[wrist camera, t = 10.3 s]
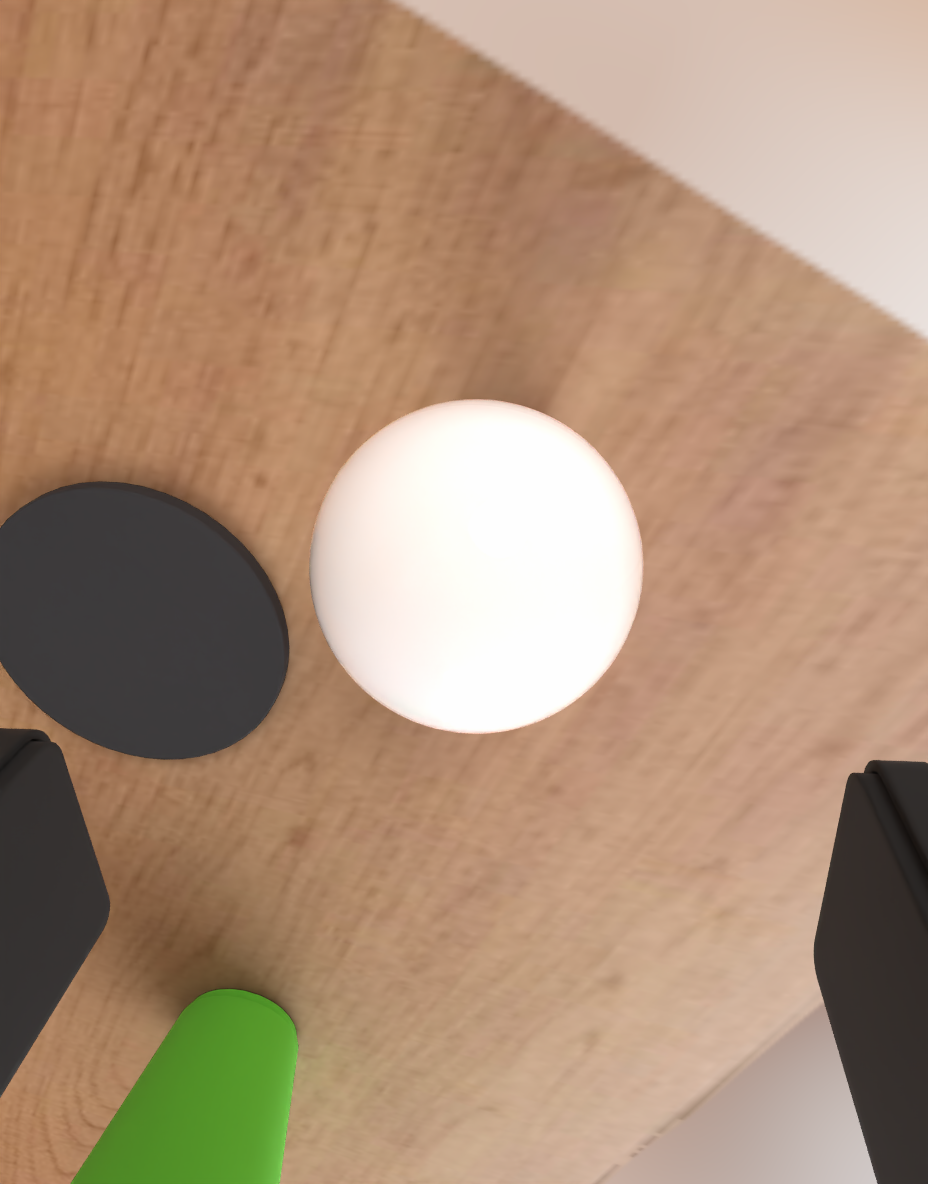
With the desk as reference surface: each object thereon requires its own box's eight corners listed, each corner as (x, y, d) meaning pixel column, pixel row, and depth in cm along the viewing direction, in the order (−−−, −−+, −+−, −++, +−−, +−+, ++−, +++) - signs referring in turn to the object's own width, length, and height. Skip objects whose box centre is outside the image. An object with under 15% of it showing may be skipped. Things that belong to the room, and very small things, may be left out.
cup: (290, 1115, 39) (199, 1432, 30) (112, 1034, 38) (-45, 1338, 28) (381, 1017, 35) (310, 1346, 26) (186, 922, 34) (32, 1232, 24)
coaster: (-53, 481, 26) (-66, 488, 25) (264, 479, 24) (257, 486, 24) (38, 745, 30) (29, 755, 30) (308, 754, 29) (304, 765, 29)
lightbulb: (668, 412, 22) (746, 612, 13) (533, 586, 25) (513, 859, 15) (466, 274, 21) (381, 379, 12) (349, 472, 24) (202, 689, 14)
